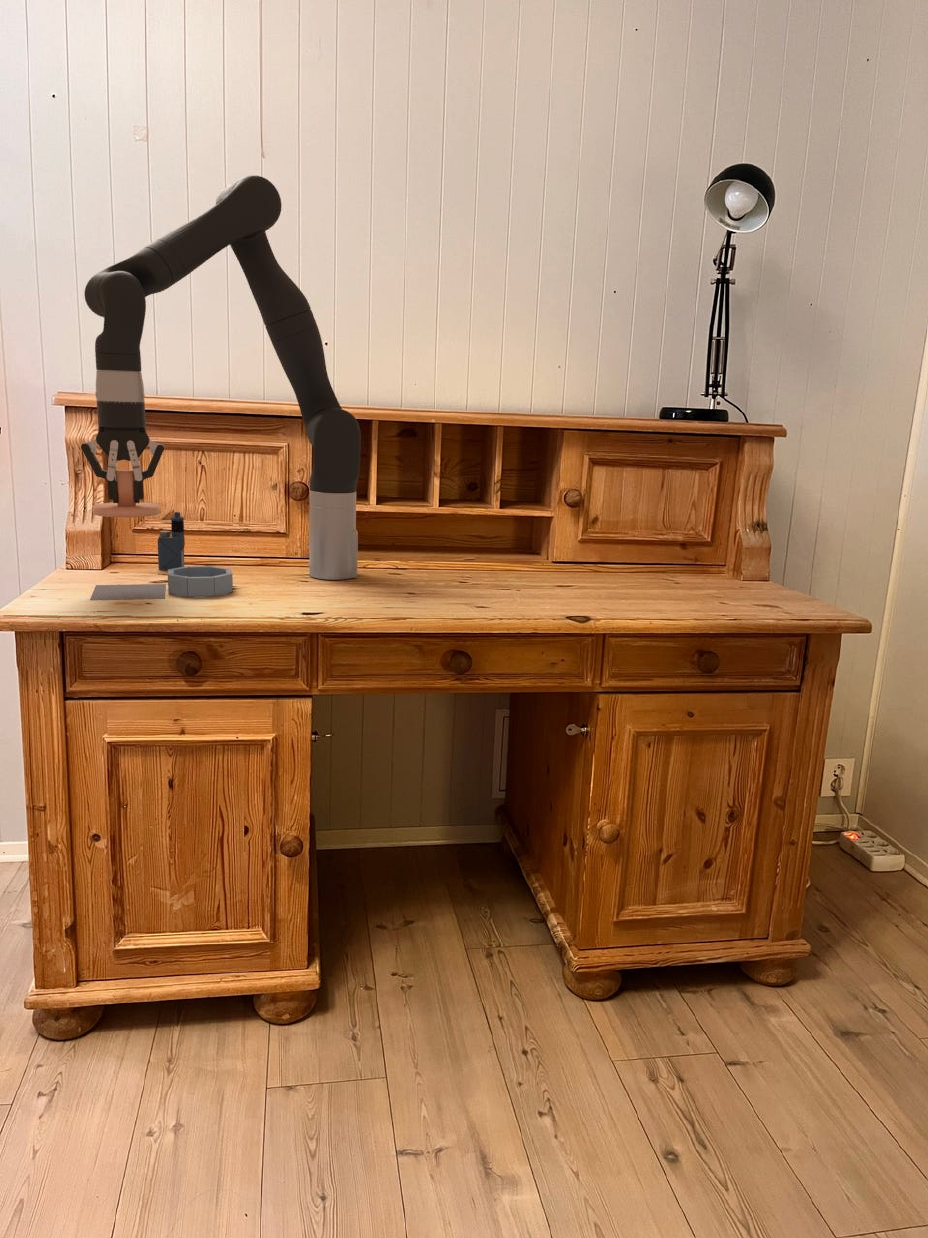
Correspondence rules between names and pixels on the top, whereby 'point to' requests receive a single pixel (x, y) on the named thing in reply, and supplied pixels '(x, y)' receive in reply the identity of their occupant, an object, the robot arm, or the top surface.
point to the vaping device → (172, 545)
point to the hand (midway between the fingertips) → (126, 502)
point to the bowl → (200, 581)
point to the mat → (129, 592)
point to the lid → (126, 500)
